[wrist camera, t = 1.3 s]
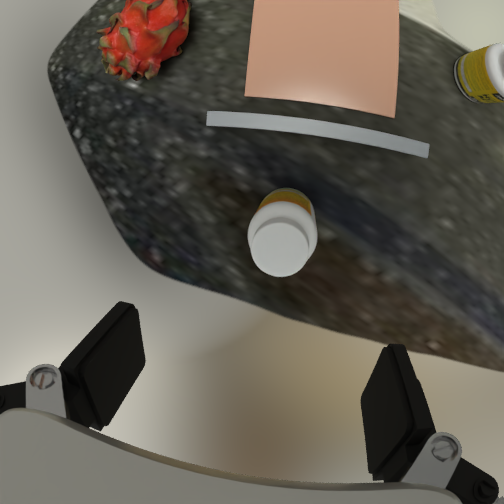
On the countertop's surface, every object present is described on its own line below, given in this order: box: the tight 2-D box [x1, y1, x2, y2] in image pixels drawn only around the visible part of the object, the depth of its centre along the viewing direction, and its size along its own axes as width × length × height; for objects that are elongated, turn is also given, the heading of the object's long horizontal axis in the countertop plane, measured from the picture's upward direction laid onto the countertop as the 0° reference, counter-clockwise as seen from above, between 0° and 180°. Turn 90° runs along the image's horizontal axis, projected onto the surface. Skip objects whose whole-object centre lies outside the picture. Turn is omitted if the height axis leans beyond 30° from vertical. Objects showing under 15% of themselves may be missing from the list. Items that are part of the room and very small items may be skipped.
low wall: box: [206, 111, 430, 158], centre depth 23 cm, size 18×1×5 cm, turn 85°
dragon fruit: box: [97, 0, 192, 81], centre depth 21 cm, size 8×8×12 cm
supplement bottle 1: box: [248, 188, 317, 277], centre depth 25 cm, size 5×5×10 cm
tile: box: [245, 0, 399, 118], centre depth 22 cm, size 14×14×1 cm
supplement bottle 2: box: [454, 43, 504, 103], centre depth 16 cm, size 5×5×10 cm
